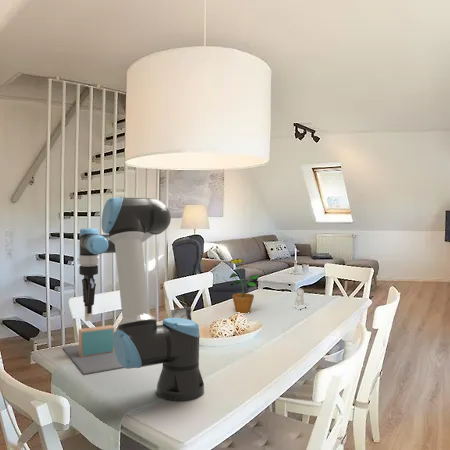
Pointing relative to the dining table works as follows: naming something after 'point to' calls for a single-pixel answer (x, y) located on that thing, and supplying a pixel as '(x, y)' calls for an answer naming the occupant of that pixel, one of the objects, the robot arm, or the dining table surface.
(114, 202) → the robot arm
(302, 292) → the seated beast figurine
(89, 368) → the mat
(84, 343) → the tan and teal block
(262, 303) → the dining table surface
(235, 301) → the potted plant
